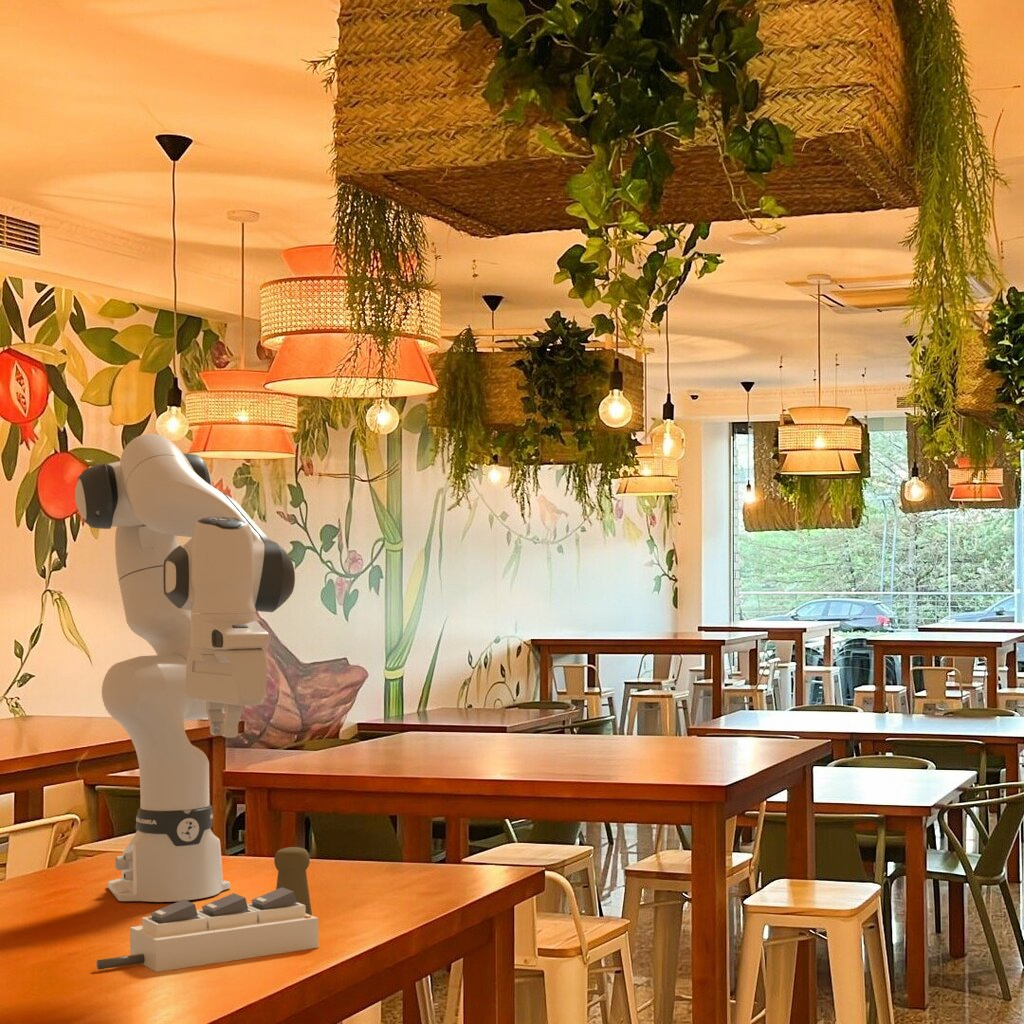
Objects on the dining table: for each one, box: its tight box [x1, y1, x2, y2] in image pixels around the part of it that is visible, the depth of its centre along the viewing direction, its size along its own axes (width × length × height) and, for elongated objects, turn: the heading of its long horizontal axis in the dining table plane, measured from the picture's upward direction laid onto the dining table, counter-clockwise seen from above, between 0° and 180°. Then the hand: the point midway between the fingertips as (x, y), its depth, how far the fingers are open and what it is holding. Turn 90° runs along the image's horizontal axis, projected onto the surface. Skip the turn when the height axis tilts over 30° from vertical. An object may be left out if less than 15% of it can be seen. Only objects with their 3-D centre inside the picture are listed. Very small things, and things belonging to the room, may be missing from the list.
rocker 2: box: [201, 893, 248, 917], centre depth 209 cm, size 4×5×2 cm
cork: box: [273, 846, 313, 916], centre depth 228 cm, size 6×6×11 cm
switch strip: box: [96, 902, 319, 973], centre depth 208 cm, size 10×29×6 cm, turn 123°
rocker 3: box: [251, 887, 297, 910], centre depth 213 cm, size 4×5×2 cm
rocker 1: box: [150, 900, 198, 924], centre depth 206 cm, size 4×5×2 cm
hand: (223, 736), depth 211 cm, fingers open, 3 cm apart
